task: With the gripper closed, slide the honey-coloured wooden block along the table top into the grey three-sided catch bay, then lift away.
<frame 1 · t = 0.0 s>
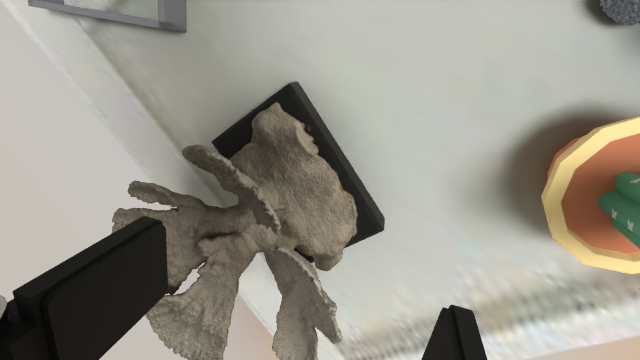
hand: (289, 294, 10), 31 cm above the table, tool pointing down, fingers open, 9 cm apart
coral: (292, 194, 45), on the table
potted cactus: (593, 170, 35), on the table
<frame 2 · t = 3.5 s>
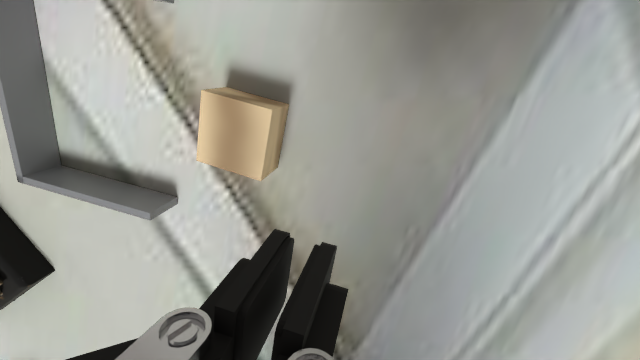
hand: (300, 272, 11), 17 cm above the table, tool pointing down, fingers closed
catch bay: (105, 95, 31), on the table
wooden block: (253, 127, 29), on the table
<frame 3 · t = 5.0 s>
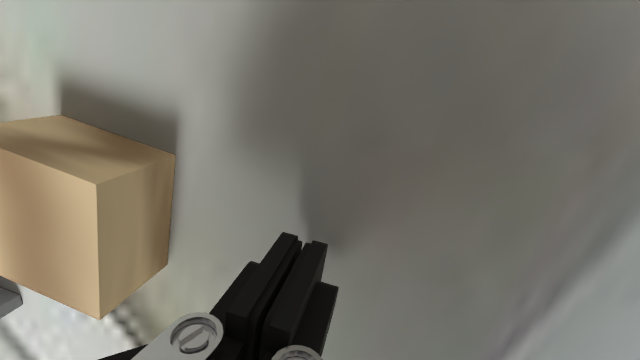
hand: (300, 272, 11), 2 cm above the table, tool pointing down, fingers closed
wooden block: (119, 192, 15), on the table
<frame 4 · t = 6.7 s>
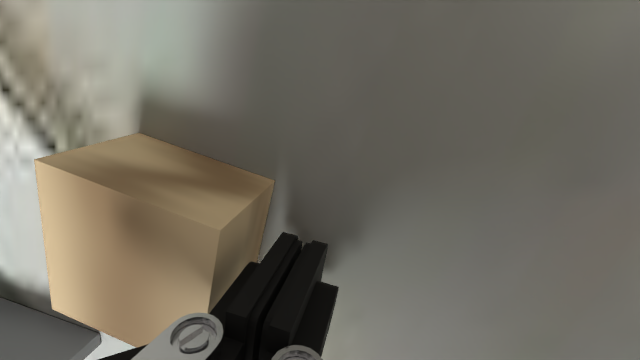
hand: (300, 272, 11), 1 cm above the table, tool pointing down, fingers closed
wooden block: (198, 219, 13), on the table, touching gripper
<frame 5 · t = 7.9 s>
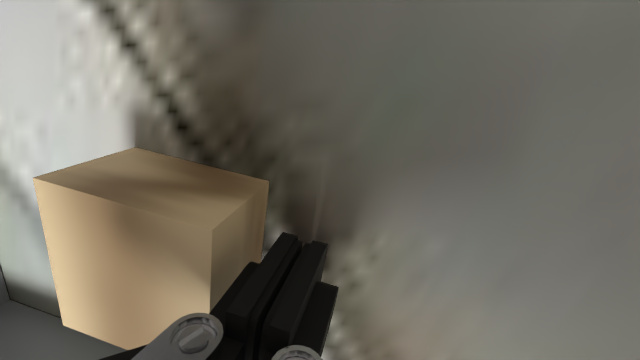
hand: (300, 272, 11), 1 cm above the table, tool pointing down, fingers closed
catch bay: (87, 191, 14), on the table
wooden block: (199, 226, 14), on the table
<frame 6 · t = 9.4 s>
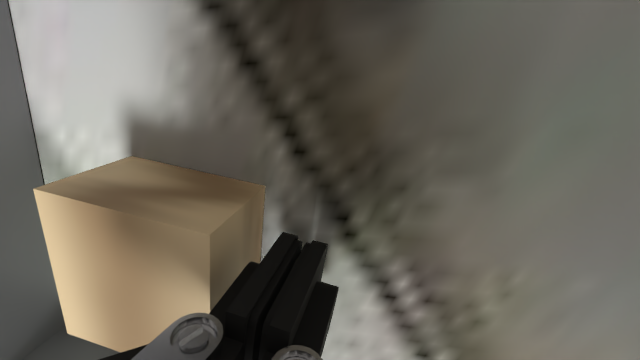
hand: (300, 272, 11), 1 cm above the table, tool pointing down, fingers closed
catch bay: (177, 214, 13), on the table
wooden block: (199, 232, 14), on the table
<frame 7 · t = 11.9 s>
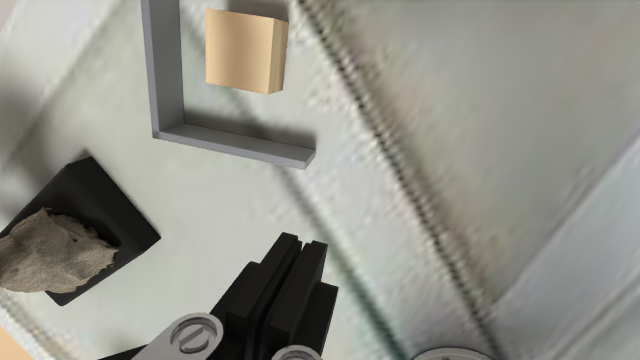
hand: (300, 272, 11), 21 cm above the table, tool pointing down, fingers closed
catch bay: (247, 42, 30), on the table
coral: (68, 218, 45), on the table
wooden block: (256, 52, 30), on the table
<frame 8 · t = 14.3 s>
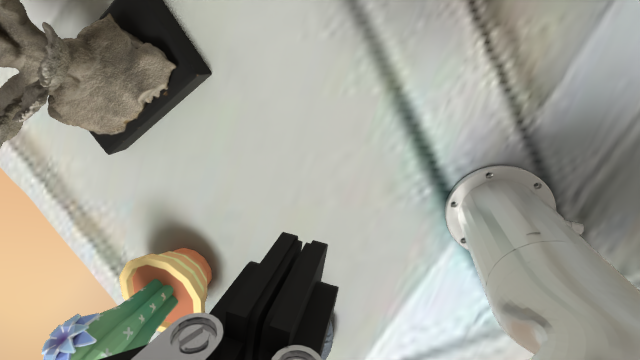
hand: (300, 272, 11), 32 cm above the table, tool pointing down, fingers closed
coral: (120, 64, 47), on the table
potted cactus: (190, 268, 58), on the table
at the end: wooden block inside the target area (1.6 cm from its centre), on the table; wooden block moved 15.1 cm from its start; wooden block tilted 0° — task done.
